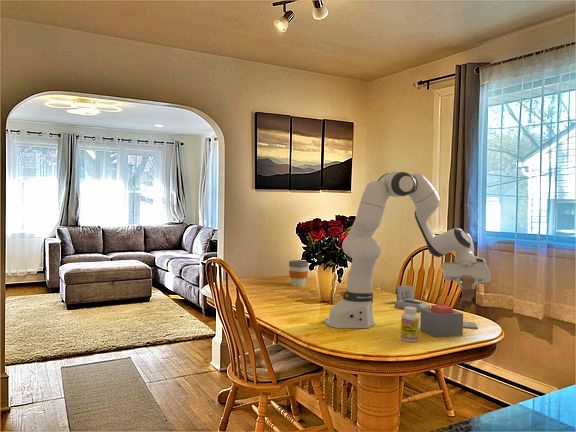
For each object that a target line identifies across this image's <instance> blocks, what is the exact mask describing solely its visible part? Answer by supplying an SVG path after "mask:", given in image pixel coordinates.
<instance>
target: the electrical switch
mask: <svg viewBox="0 0 576 432" xmlns="http://www.w3.org/2000/svg"><path fill="white" fill-rule="evenodd" d="M395 293H396V302H398V301H401V300H404V299H407V300H412V301H416V300H415V292H414V287H413V286H412V285H398V286H396V288H395Z"/></svg>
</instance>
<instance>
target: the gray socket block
mask: <svg viewBox="0 0 576 432" xmlns="http://www.w3.org/2000/svg"><path fill="white" fill-rule="evenodd" d="M463 322H464V313H462V312H460V311H457V310H455V309H453V313H441V314H439V313H437V312H434V311H432V310H431V307H430V308H429V309H421V312H420V317H419V324H420V325H419V326H420V327H419V330H420V331H422V332H423V333H426V334H427V335H430V336H432V337H434V338H443V337H444V338H445V337H458V336H459V337H460V336H464V335H463V331H464V328H463Z"/></svg>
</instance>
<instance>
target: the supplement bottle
mask: <svg viewBox="0 0 576 432" xmlns="http://www.w3.org/2000/svg"><path fill="white" fill-rule="evenodd" d="M403 310H404V312H403V313H402V314H401V321H400V339H401V340H402V341H403V342H407V343H416V342H418V341H419V330H420V327H419V326H420V325H419V324H420V316H419V314H417V308H416V307H410V306H407V307H405V308H404V309H403Z"/></svg>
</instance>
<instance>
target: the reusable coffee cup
mask: <svg viewBox="0 0 576 432" xmlns="http://www.w3.org/2000/svg"><path fill="white" fill-rule="evenodd" d="M306 261H307V260H298V259H297V260H289V261H288V267H289V270H288V274H289V278H290V285H291V286H293V287H305V286H306V280H307V277H308V271H309V270H308V268H309V262H306Z"/></svg>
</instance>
